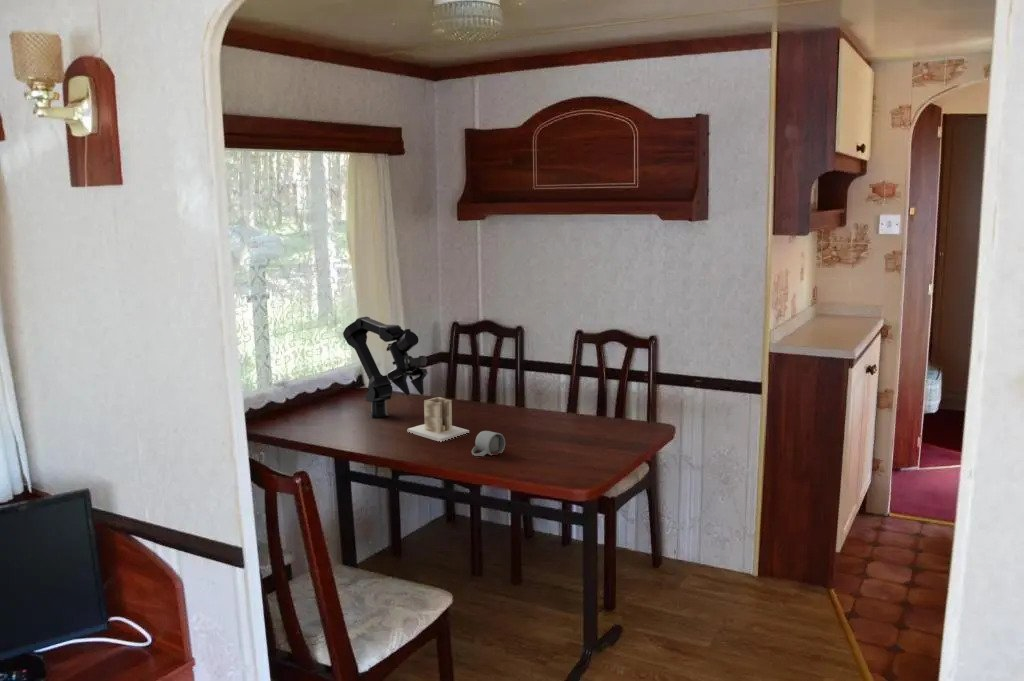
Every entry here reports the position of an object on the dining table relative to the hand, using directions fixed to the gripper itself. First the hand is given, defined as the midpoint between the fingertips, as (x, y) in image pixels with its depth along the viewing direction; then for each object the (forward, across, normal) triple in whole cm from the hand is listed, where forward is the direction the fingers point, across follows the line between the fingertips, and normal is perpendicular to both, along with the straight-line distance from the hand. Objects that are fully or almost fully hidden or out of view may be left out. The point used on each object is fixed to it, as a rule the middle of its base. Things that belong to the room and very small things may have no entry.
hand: (415, 394), depth 313 cm
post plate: (+16, +1, -2) cm, 16 cm away
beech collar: (+15, +1, -3) cm, 16 cm away
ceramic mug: (+33, -11, -24) cm, 43 cm away
